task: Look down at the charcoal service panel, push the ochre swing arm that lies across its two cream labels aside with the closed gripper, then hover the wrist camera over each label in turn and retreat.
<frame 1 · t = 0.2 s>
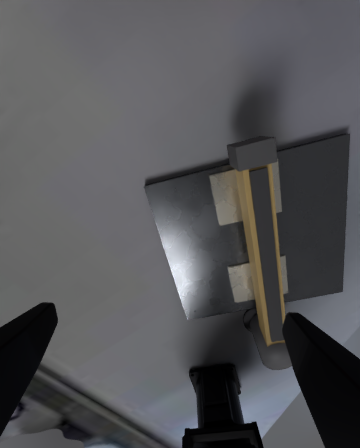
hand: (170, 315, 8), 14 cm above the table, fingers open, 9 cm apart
swing arm: (262, 268, 20), point 3 cm above the table, hinge at 0.0°
service panel: (251, 241, 23), on the table
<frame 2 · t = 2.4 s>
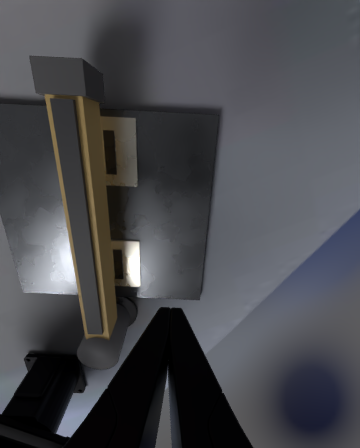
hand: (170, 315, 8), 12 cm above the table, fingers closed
swing arm: (95, 244, 17), point 3 cm above the table, hinge at 0.0°
service panel: (106, 216, 19), on the table
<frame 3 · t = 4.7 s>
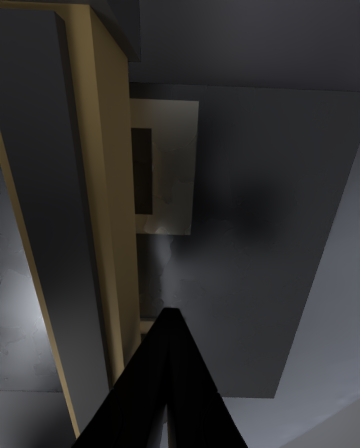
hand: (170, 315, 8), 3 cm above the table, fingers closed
swing arm: (113, 350, 9), point 3 cm above the table, hinge at 0.0°, touching gripper
service panel: (128, 279, 11), on the table
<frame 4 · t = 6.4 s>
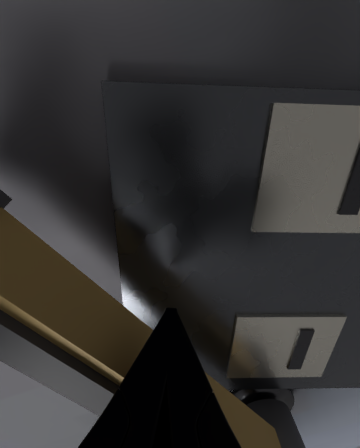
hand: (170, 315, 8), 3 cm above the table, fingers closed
swing arm: (172, 382, 10), point 3 cm above the table, hinge at 41.1°, touching gripper
service panel: (293, 277, 12), on the table
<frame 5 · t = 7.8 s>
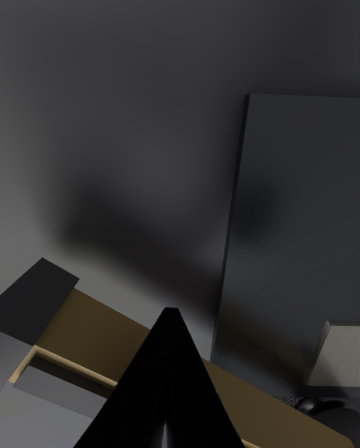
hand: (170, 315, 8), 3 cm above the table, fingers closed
swing arm: (241, 410, 11), point 3 cm above the table, hinge at 54.2°, touching gripper
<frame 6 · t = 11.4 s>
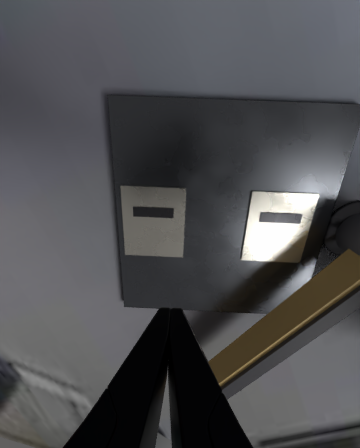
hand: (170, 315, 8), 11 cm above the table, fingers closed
swing arm: (278, 325, 18), point 3 cm above the table, hinge at 54.5°
service panel: (220, 223, 18), on the table
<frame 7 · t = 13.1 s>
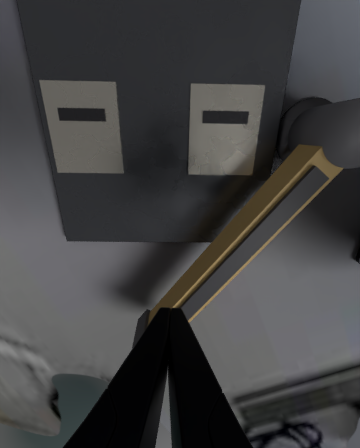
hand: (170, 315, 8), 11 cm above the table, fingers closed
swing arm: (230, 244, 17), point 3 cm above the table, hinge at 54.5°
service panel: (162, 131, 16), on the table
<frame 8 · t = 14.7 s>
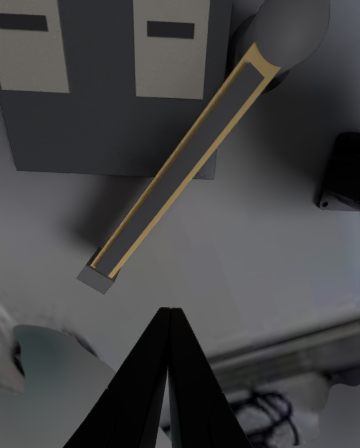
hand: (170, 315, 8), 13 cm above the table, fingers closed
swing arm: (177, 169, 16), point 3 cm above the table, hinge at 54.5°
service panel: (109, 49, 16), on the table
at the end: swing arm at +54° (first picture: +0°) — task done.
